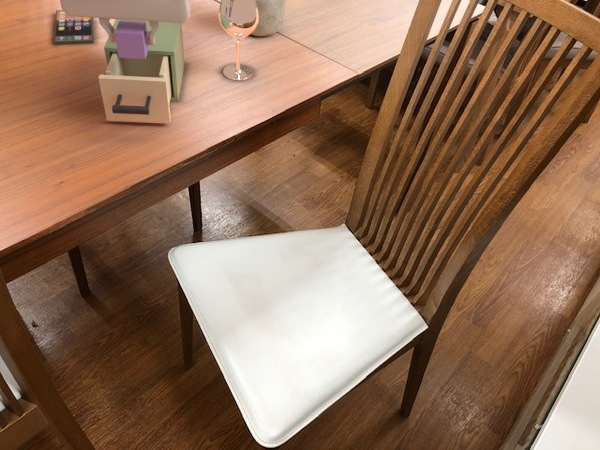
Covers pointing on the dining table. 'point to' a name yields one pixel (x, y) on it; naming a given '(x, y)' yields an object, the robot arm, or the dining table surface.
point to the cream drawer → (137, 89)
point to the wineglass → (238, 30)
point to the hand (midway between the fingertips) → (132, 42)
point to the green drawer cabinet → (161, 50)
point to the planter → (269, 17)
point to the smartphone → (73, 29)
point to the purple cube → (131, 39)
